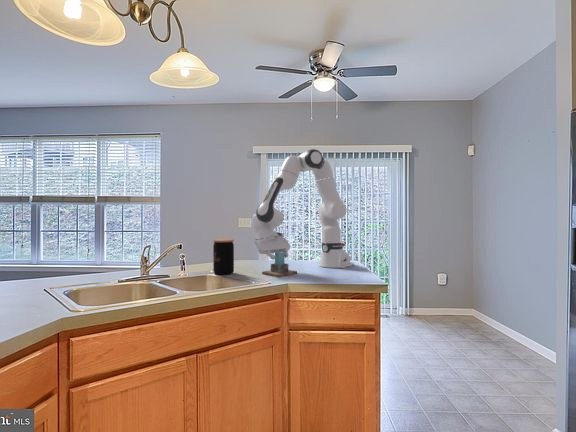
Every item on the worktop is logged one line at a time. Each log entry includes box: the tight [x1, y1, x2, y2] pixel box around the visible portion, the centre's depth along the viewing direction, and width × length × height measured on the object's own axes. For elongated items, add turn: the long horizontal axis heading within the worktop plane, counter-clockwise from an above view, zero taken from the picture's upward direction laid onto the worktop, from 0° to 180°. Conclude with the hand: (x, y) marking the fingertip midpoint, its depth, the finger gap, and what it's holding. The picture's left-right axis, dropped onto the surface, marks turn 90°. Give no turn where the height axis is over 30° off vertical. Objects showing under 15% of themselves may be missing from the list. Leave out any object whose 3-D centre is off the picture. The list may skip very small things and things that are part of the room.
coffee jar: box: [212, 238, 235, 276], centre depth 177 cm, size 11×11×18 cm
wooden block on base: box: [261, 262, 298, 278], centre depth 176 cm, size 14×12×5 cm
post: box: [274, 252, 286, 265], centre depth 176 cm, size 4×4×10 cm
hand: (280, 257), depth 175 cm, fingers open, 8 cm apart
